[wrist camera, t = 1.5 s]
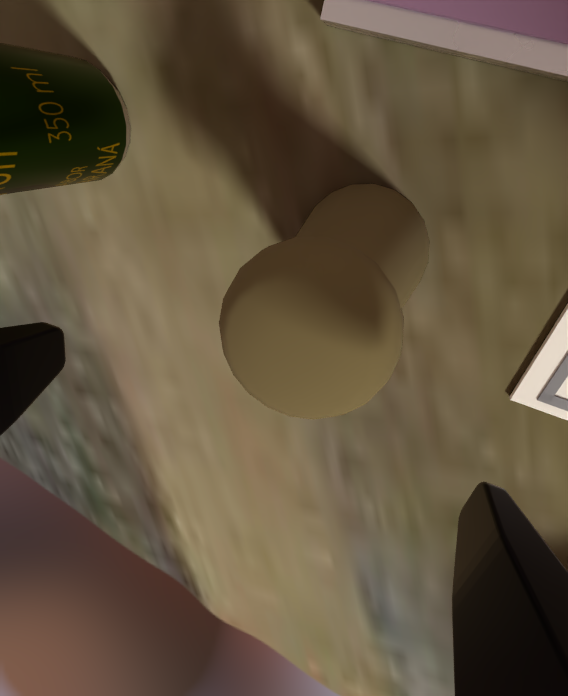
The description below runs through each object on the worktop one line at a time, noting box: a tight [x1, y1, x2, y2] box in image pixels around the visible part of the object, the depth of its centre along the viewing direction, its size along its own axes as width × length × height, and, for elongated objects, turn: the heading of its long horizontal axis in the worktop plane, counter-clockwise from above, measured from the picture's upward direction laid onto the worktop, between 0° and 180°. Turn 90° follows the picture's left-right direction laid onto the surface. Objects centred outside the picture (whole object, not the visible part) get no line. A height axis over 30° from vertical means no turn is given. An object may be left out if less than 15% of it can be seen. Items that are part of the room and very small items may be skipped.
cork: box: [219, 184, 430, 419], centre depth 15 cm, size 6×6×11 cm
